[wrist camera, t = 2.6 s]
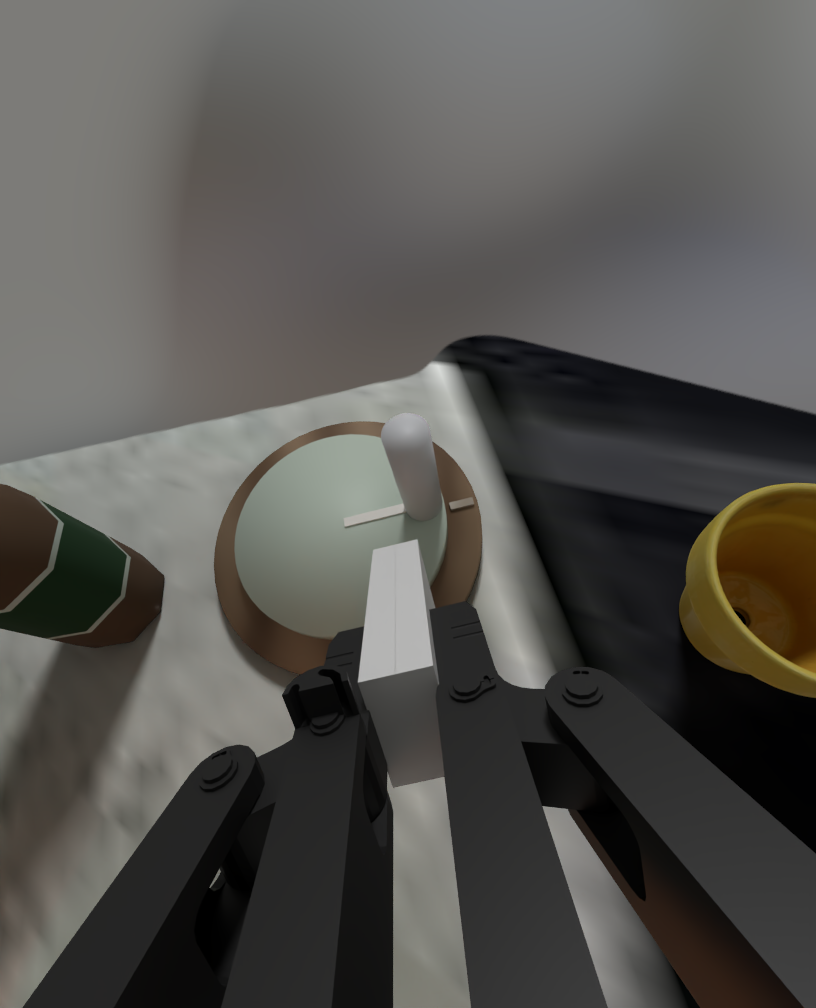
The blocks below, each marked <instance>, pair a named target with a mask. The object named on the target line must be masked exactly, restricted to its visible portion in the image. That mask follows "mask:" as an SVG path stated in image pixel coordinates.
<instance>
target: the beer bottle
mask: <svg viewBox="0 0 816 1008" xmlns="http://www.w3.org/2000/svg"><path fill="white" fill-rule="evenodd" d="M163 586H164V575H163V574H162V573H161V572H160V571H158V570H157V569H156V568H155V567H154V566H153V565H152V564H151V563H150V562H149V561H148V560H147V559H146V558H144V557H143V556H142V555H141V554H139V553H137V552H136V551H134V550H133V549H131V548H130V547H128V546H126V545H124V544H122V543H120V542H118V541H116V540H115V539H113V538H111V537H109V536H107V535H105V534H103V533H101V532H100V531H98V530H96V529H94V528H92V527H90V526H88V525H86V524H84V523H83V522H81V521H79V520H77V519H75V518H73V517H71V516H69V515H68V514H66V513H64V512H62V511H60V510H58V509H56V508H54V507H52V506H51V505H49V504H47V503H45V502H43V501H41V500H39V499H37V498H36V497H33V496H31V495H29V494H26V493H24V492H22V491H19V490H17V489H15V488H12V487H10V486H8V485H3V484H0V628H1V629H5V630H10V631H14V632H19V633H23V634H28V635H32V636H37V637H42V638H46V639H51V640H55V641H60V642H64V643H69V644H73V645H78V646H85V647H93V648H98V647H103V646H109V645H115V644H121V643H127V642H132V641H134V640H135V639H136V638H137V637H138V635H139V634H140V633H141V632H142V631H143V630H144V629H145V628H146V627H147V626H148V625H149V623H150V622H151V621H152V620H153V619H154V618H155V617H156V616H157V615H158V614H159V613H160V611H161V604H162V595H163Z"/></svg>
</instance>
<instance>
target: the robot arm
mask: <svg viewBox="0 0 816 1008" xmlns="http://www.w3.org/2000/svg"><path fill="white" fill-rule="evenodd" d="M282 697H283V699H284V702H285V704H286V707H287V709H288V712H289V714H290V717H291V719H292V722H293V724H294V727H295V732H294V735H293V739H292V740H290V741H289V742H287V743H285V744H284V745H282V746H280V747H278V748H276V749H274V750H272V751H270V752H268V753H266V754H264V755H261V756H259V757H256V755H255V753H254V752H253V751H252V750H251V748H250V747H249V746H243V745H234V746H229V747H226V748H223V749H221V750H219V751H217V752H215V753H213V754H212V755H210V756H209V757H208V758H206V759H205V760H204V761H202V762H201V763H200V764H199V765H198V766H197V767H196V768H195V770H194V771H193V772H192V773H191V774H190V775H189V777H188V778H187V780H186V781H185V782H184V784H183V785H182V786H181V788H180V789H179V791H178V792H177V793H176V795H175V796H174V798H173V799H172V800H171V802H170V803H169V805H168V806H167V807H166V809H165V810H164V811H163V813H162V814H161V816H160V817H159V818H158V820H157V821H156V823H155V824H154V825H153V827H152V828H151V830H150V831H149V832H148V834H147V835H146V837H145V838H144V839H143V841H142V842H141V843H140V845H139V846H138V848H137V849H136V850H135V852H134V853H133V855H132V856H131V857H130V859H129V860H128V862H127V863H126V864H125V866H124V867H123V869H122V870H121V871H120V873H119V874H118V875H117V877H116V878H115V880H114V881H113V882H112V884H111V885H110V887H109V888H108V889H107V891H106V892H105V894H104V895H103V896H102V898H101V899H100V901H99V902H98V903H97V905H96V906H95V907H94V909H93V910H92V912H91V913H90V914H89V916H88V917H87V919H86V920H85V921H84V923H83V924H82V926H81V927H80V928H79V930H78V931H77V933H76V934H75V935H74V937H73V938H72V939H71V941H70V942H69V944H68V945H67V946H66V948H65V949H64V951H63V952H62V953H61V955H60V956H59V958H58V959H57V960H56V962H55V963H54V965H53V966H52V967H51V969H50V970H49V971H48V973H47V974H46V976H45V977H44V978H43V980H42V981H41V983H40V984H39V985H38V987H37V988H36V990H35V991H34V992H33V994H32V995H31V997H30V998H29V999H28V1001H27V1002H26V1003H25V1005H24V1006H23V1008H393V809H392V804H391V800H390V797H389V794H388V792H387V771H388V774H389V777H390V780H391V783H392V786H393V788H394V787H398V786H403V785H407V784H412V783H417V782H421V781H426V780H431V779H435V778H440V777H445V784H446V793H447V801H448V810H449V819H450V827H451V836H452V845H453V853H454V862H455V871H456V879H457V888H458V897H459V905H460V914H461V923H462V931H463V940H464V949H465V958H466V966H467V975H468V984H469V992H470V1001H471V1008H608V1007H607V1004H606V1001H605V998H604V995H603V992H602V989H601V986H600V983H599V980H598V977H597V974H596V970H595V967H594V964H593V961H592V958H591V955H590V952H589V949H588V946H587V943H586V940H585V937H584V934H583V930H582V927H581V924H580V921H579V918H578V915H577V912H576V909H575V906H574V903H573V900H572V897H571V894H570V890H569V887H568V884H567V881H566V878H565V875H564V872H563V869H562V866H561V863H560V860H559V857H558V854H557V850H556V847H555V844H554V841H553V838H552V835H551V832H550V829H549V826H548V823H547V820H546V817H545V814H544V810H543V807H542V806H548V807H556V808H565V809H568V811H569V813H570V815H571V817H572V818H573V820H574V821H575V823H576V824H577V826H578V827H579V829H580V830H581V832H582V833H583V835H584V836H585V837H586V839H587V840H588V842H589V843H590V845H591V846H592V848H593V849H594V851H595V852H596V854H597V855H598V857H599V858H600V860H601V861H602V863H603V864H604V866H605V867H606V869H607V870H608V872H609V873H610V875H611V876H612V877H613V879H614V880H615V882H616V883H617V885H618V886H619V888H620V889H621V891H622V892H623V894H624V895H625V897H626V898H627V900H628V901H629V903H630V904H631V906H632V907H633V909H634V910H635V912H636V913H637V915H638V916H639V917H640V919H641V920H642V922H643V923H644V925H645V926H646V928H647V929H648V931H649V932H650V934H651V935H652V937H653V938H654V940H655V941H656V943H657V944H658V946H659V947H660V949H661V950H662V952H663V953H664V955H665V956H666V957H667V959H668V960H669V962H670V963H671V965H672V966H673V968H674V969H675V971H676V972H677V974H678V975H679V977H680V978H681V980H682V981H683V983H684V984H685V986H686V987H687V989H688V990H689V992H690V993H691V995H692V996H693V997H694V999H695V1000H696V1002H697V1003H698V1005H699V1006H700V1008H816V854H815V853H814V852H813V851H812V850H811V849H810V848H809V847H807V846H806V845H805V844H804V843H803V842H802V841H801V840H799V839H798V838H797V837H796V836H795V835H794V834H792V833H791V832H790V831H789V830H788V829H787V828H786V827H784V826H783V825H782V824H781V823H780V822H779V821H778V820H776V819H775V818H774V817H773V816H772V815H771V814H770V813H768V812H767V811H766V810H765V809H764V808H763V807H762V806H760V805H759V804H758V803H757V802H756V801H755V800H754V799H752V798H751V797H750V796H749V795H748V794H747V793H746V792H744V791H743V790H742V789H741V788H740V787H739V786H738V785H736V784H735V783H734V782H733V781H732V780H731V779H729V778H728V777H727V776H726V775H725V774H724V773H723V772H721V771H720V770H719V769H718V768H717V767H716V766H715V765H713V764H712V763H711V762H710V761H709V760H708V759H707V758H705V757H704V756H703V755H702V754H701V753H700V752H699V751H697V750H696V749H695V748H694V747H693V746H692V745H691V744H689V743H688V742H687V741H686V740H685V739H684V738H683V737H681V736H680V735H679V734H678V733H677V732H676V731H675V730H673V729H672V728H671V727H670V726H669V725H668V724H666V723H665V722H664V721H663V720H662V719H661V718H660V717H658V716H657V715H656V714H655V713H654V712H653V711H652V710H650V709H649V708H648V707H647V706H646V705H645V704H644V703H642V702H641V701H640V700H639V699H638V698H637V697H636V696H634V695H633V694H632V693H631V692H630V691H629V690H628V689H626V688H625V687H624V686H623V685H622V684H621V683H620V682H618V681H617V680H616V679H615V678H614V677H612V676H610V675H609V674H607V673H605V672H604V671H601V670H597V669H593V668H590V667H573V668H569V669H566V670H562V671H560V672H558V673H557V674H555V675H554V676H552V677H551V678H550V680H549V681H548V682H547V684H546V685H545V689H529V688H521V687H518V686H514V685H511V684H510V683H508V682H506V681H504V680H503V679H502V678H501V677H500V676H499V675H498V673H497V671H496V669H495V666H494V663H493V660H492V657H491V654H490V651H489V648H488V645H487V642H486V638H485V635H484V633H483V629H482V626H481V623H480V620H479V617H478V614H477V611H476V609H475V608H474V607H472V606H471V605H470V604H468V603H467V602H466V601H464V602H459V603H455V604H451V605H447V606H442V607H438V608H435V605H434V601H433V597H432V593H431V589H430V586H429V582H428V578H427V574H426V570H425V566H424V563H423V559H422V555H421V551H420V547H419V543H418V540H417V539H416V540H412V541H408V542H404V543H400V544H395V545H391V546H387V547H383V548H379V549H375V550H373V555H372V564H371V572H370V581H369V590H368V598H367V607H366V616H365V625H364V626H363V627H358V628H354V629H350V630H345V631H341V632H338V633H337V635H336V636H335V637H334V639H333V640H332V641H331V643H330V644H329V645H328V650H327V654H326V661H325V663H324V666H319V667H316V668H313V669H310V670H308V671H306V672H304V673H303V674H301V675H299V676H298V677H296V678H295V679H294V680H293V681H292V682H291V683H290V684H289V685H288V686H287V687H286V689H285V691H284V693H283V694H282ZM219 868H220V870H221V873H220V875H219V877H218V878H217V880H216V881H215V883H214V884H213V885H212V887H211V888H209V887H210V885H211V883H212V881H213V879H214V878H215V876H216V874H217V872H218V870H219Z"/></svg>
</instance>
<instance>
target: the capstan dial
mask: <svg viewBox="0 0 816 1008" xmlns="http://www.w3.org/2000/svg"><path fill="white" fill-rule="evenodd" d="M447 538H448V523H447V515H446V509H445V504H444V499H443V496H442V493H441V489H440V484H439V478H438V472H437V466H436V461H435V455H434V449H433V443H432V438H431V432H430V427H429V424H428V422H427V421H426V420H425V419H424V418H423V417H421V416H420V415H417V414H414V413H402V414H399V415H396V416H394V417H392V418H391V419H389V420H388V421H387V422H386V423H385V425H384V426H383V428H382V431H381V438H379V437H375V436H369V435H356V434H349V435H338V436H333V437H328V438H324V439H320V440H317V441H314V442H312V443H309V444H307V445H305V446H302V447H300V448H298V449H297V450H295V451H293V452H291V453H290V454H288V455H287V456H285V457H284V458H283V459H281V460H280V461H278V462H277V463H276V464H275V465H274V466H273V467H272V468H270V469H269V470H268V471H267V473H266V474H265V475H264V476H263V477H262V478H261V479H260V480H259V482H258V483H257V484H256V486H255V487H254V488H253V490H252V492H251V493H250V495H249V497H248V498H247V500H246V502H245V504H244V507H243V509H242V511H241V514H240V517H239V520H238V524H237V529H236V534H235V548H234V551H235V561H236V566H237V570H238V574H239V577H240V580H241V582H242V585H243V587H244V589H245V590H246V592H247V594H248V595H249V597H250V599H251V600H252V601H253V602H254V603H255V604H256V606H257V607H258V608H259V609H260V610H261V611H262V612H264V613H265V614H266V615H267V616H268V617H269V618H271V619H273V620H274V621H276V622H278V623H279V624H281V625H283V626H284V627H286V628H288V629H290V630H292V631H295V632H297V633H299V634H302V635H306V636H309V637H313V638H319V639H328V640H333V639H334V637H335V636H336V635H337V633H338V632H341V631H345V630H350V629H354V628H358V627H363V626H364V625H365V616H366V607H367V598H368V590H369V581H370V572H371V564H372V555H373V550H375V549H379V548H383V547H387V546H391V545H395V544H400V543H404V542H408V541H412V540H416V539H417V540H418V543H419V547H420V551H421V555H422V559H423V563H424V566H425V570H426V574H427V578H428V582H429V586H430V587H431V585H432V584H433V582H434V580H435V578H436V576H437V574H438V573H439V570H440V567H441V565H442V562H443V560H444V556H445V551H446V547H447Z"/></svg>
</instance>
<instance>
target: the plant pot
mask: <svg viewBox="0 0 816 1008" xmlns="http://www.w3.org/2000/svg"><path fill="white" fill-rule="evenodd" d="M686 584H687V585H686V587H685V589H684V591H683V594H682V596H681V599H680V605H679V615H680V621H681V624H682V627H683V630H684V632H685V634H686V636H687V637H688V639H689V641H690V642H691V643H692V645H693V646H694V647H695V648H696V649H697V650H698V651H699V652H700V653H701V654H702V655H703V656H704V657H706V658H707V659H708V660H710V661H711V662H713V663H715V664H717V665H719V666H720V667H723V668H725V669H728V670H731V671H735V672H739V673H744V674H750V675H752V676H754V677H756V678H757V679H759V680H761V681H763V682H765V683H767V684H769V685H771V686H774V687H776V688H779V689H781V690H784V691H787V692H791V693H794V694H797V695H802V696H807V697H813V698H816V484H808V483H789V484H779V485H772V486H768V487H764V488H760V489H757V490H755V491H752V492H749V493H747V494H745V495H743V496H741V497H740V498H738V499H736V500H735V501H733V502H732V503H731V504H730V505H728V506H727V507H726V508H725V509H724V510H723V511H722V512H720V513H719V514H718V515H717V516H716V517H715V518H714V519H713V520H712V521H711V522H710V523H709V524H708V526H707V527H706V528H705V529H704V530H703V531H702V533H701V534H700V535H699V536H698V538H697V540H696V541H695V543H694V545H693V547H692V549H691V551H690V554H689V557H688V562H687V568H686ZM734 610H735V611H738V612H739V613H740V614H742V615H743V617H744V618H745V620H746V625H744V624H743V622H742V621H741V620H740V619H739V617H738V616H737V615H736V613H735V612H734Z"/></svg>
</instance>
